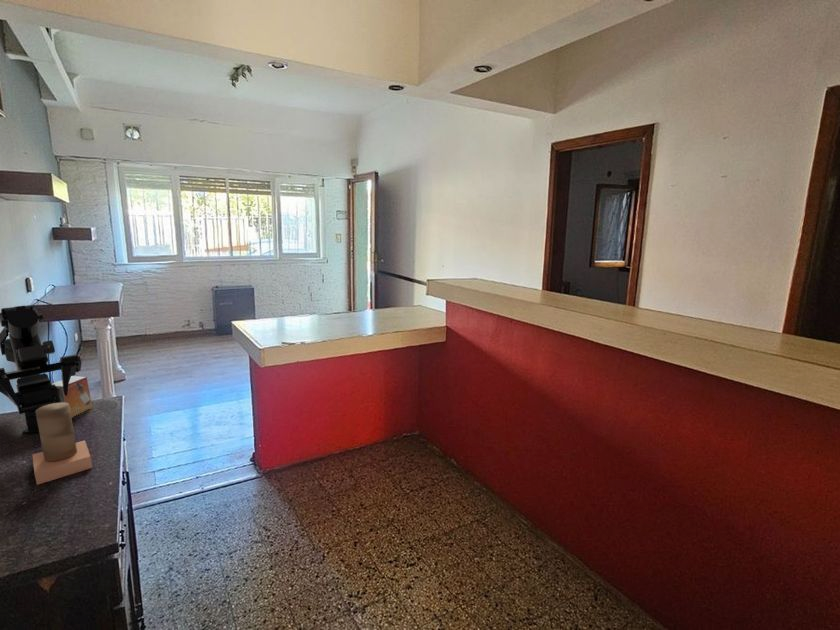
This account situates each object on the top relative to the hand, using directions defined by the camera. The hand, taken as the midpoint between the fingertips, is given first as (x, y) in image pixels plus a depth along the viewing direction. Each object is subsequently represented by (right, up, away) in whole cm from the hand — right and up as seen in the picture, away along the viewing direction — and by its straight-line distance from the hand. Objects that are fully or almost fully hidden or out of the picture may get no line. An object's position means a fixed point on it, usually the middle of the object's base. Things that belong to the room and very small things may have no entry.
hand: (43, 400), depth 109 cm
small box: (-10, -8, +22) cm, 26 cm away
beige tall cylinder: (+10, -12, -6) cm, 16 cm away
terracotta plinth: (+10, -15, -5) cm, 18 cm away
